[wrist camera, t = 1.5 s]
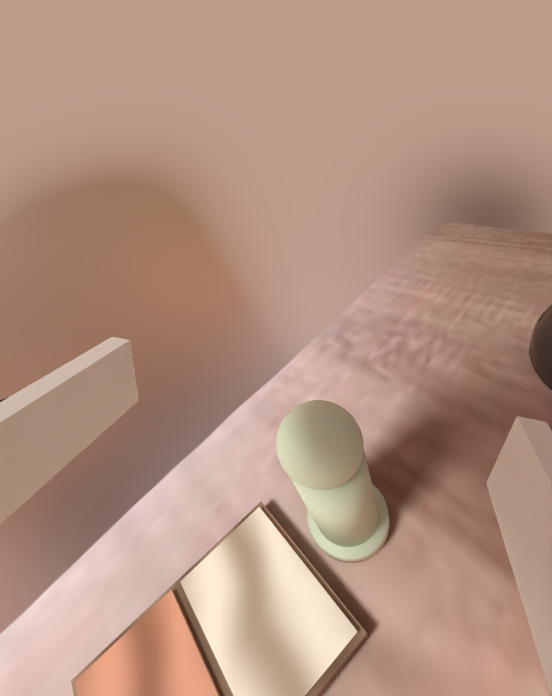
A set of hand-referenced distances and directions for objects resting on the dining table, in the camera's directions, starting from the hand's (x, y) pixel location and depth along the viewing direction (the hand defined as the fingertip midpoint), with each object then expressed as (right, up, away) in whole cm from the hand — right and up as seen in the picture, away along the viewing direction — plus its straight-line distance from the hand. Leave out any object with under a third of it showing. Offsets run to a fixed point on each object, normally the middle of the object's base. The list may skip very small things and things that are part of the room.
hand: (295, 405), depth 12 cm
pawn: (+5, -12, +17) cm, 21 cm away
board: (-5, -20, +12) cm, 24 cm away
